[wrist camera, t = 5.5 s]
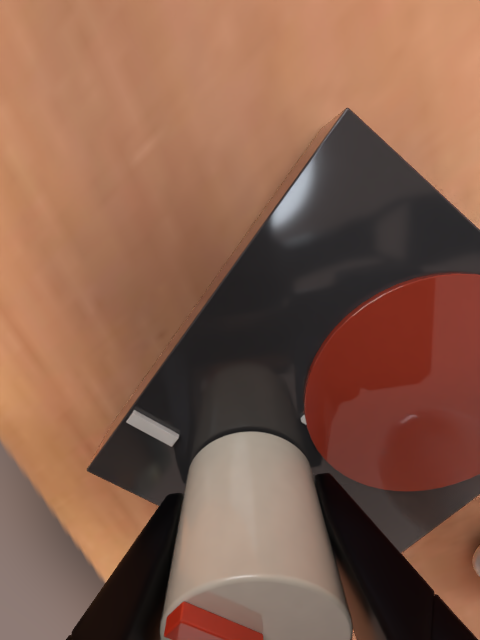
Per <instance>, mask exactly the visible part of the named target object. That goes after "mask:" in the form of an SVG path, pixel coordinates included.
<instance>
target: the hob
mask: <svg viewBox="0 0 480 640" xmlns="http://www.w3.org/2000/svg"><path fill="white" fill-rule="evenodd" d="M449 272H464V273H476V274H480V230H479V229H478V228H477V227H476V226H475V225H474V224H473V223H472V222H471V221H470V220H469V219H467V218H466V217H465V216H464V215H463V214H462V213H461V212H460V211H459V210H458V209H457V208H456V207H455V206H453V205H452V204H451V203H450V202H449V201H448V200H447V199H446V198H445V197H444V196H443V195H442V194H441V193H440V192H438V191H437V190H436V189H435V188H434V187H433V186H432V185H431V184H430V183H429V182H428V181H427V180H426V179H424V178H423V177H422V176H421V175H420V174H419V173H418V172H417V171H416V170H415V169H414V168H413V167H412V166H411V165H409V164H408V163H407V162H406V161H405V160H404V159H403V158H402V157H401V156H400V155H399V154H398V153H397V152H395V151H394V150H393V149H392V148H391V147H390V146H389V145H388V144H387V143H386V142H385V141H384V140H383V139H382V138H380V137H379V136H378V135H377V134H376V133H375V132H374V131H373V130H372V129H371V128H370V127H369V126H368V125H366V124H365V123H364V122H363V121H362V120H361V119H360V118H359V117H358V116H357V115H356V114H355V113H354V112H353V111H351V110H350V109H349V108H346V109H345V110H343V111H342V112H341V113H340V114H338V115H337V116H336V117H335V118H333V119H332V120H331V121H330V122H328V123H327V124H326V125H325V126H324V127H322V128H321V129H320V131H319V132H318V133H317V135H316V136H315V138H314V139H313V141H312V142H311V143H310V145H309V146H308V148H307V149H306V150H305V152H304V153H303V155H302V156H301V157H300V159H299V160H298V162H297V163H296V165H295V166H294V167H293V169H292V170H291V172H290V173H289V174H288V176H287V177H286V179H285V180H284V181H283V183H282V184H281V186H280V187H279V189H278V190H277V191H276V193H275V194H274V196H273V197H272V198H271V200H270V201H269V203H268V204H267V205H266V207H265V208H264V210H263V211H262V213H261V214H260V215H259V217H258V218H257V220H256V221H255V222H254V224H253V225H252V227H251V228H250V229H249V231H248V232H247V234H246V235H245V237H244V238H243V239H242V241H241V242H240V244H239V245H238V246H237V248H236V249H235V251H234V252H233V253H232V255H231V256H230V258H229V259H228V261H227V262H226V263H225V265H224V266H223V268H222V269H221V270H220V272H219V273H218V275H217V276H216V277H215V279H214V280H213V282H212V283H211V285H210V286H209V287H208V289H207V290H206V292H205V293H204V294H203V296H202V297H201V299H200V300H199V301H198V303H197V304H196V306H195V307H194V309H193V310H192V311H191V313H190V314H189V316H188V317H187V318H186V320H185V321H184V323H183V324H182V325H181V327H180V328H179V330H178V331H177V333H176V334H175V335H174V337H173V338H172V340H171V341H170V342H169V344H168V345H167V347H166V348H165V349H164V351H163V352H162V354H161V355H160V357H159V358H158V359H157V361H156V362H155V364H154V365H153V366H152V368H151V369H150V371H149V372H148V373H147V375H146V376H145V378H144V379H143V380H142V382H141V383H140V385H139V386H138V388H137V389H136V390H135V392H134V393H133V395H132V396H131V397H130V399H129V400H128V402H127V403H126V404H125V406H124V407H123V409H122V410H121V412H120V413H119V414H118V416H117V417H116V419H115V420H114V421H113V423H112V424H111V426H110V428H109V430H108V431H107V433H106V435H105V437H104V439H103V440H102V442H101V444H100V446H99V448H98V449H97V451H96V453H95V455H94V457H93V458H92V460H91V462H90V464H89V466H88V468H87V471H88V472H90V473H92V474H94V475H96V476H98V477H100V478H102V479H104V480H106V481H108V482H111V483H113V484H115V485H117V486H119V487H121V488H123V489H125V490H127V491H129V492H131V493H133V494H135V495H137V496H139V497H141V498H144V499H146V500H148V501H150V502H152V503H154V504H156V505H158V506H160V504H161V503H162V502H163V500H164V499H165V497H166V496H167V495H169V494H173V493H182V494H183V495H184V490H185V485H186V479H187V474H188V470H189V467H190V465H191V463H192V461H193V459H194V458H195V456H196V455H197V454H198V453H199V452H200V451H201V450H202V449H203V448H204V447H205V446H206V445H208V444H209V443H211V442H212V441H214V440H216V439H218V438H220V437H223V436H225V435H229V434H232V433H237V432H246V431H257V432H265V433H269V434H273V435H276V436H279V437H282V438H284V439H285V440H287V441H289V442H291V443H292V444H294V445H295V446H296V447H297V448H298V449H299V450H300V451H301V452H302V453H303V454H304V455H305V457H306V458H307V460H308V461H309V463H310V466H311V469H312V472H313V476H314V480H315V475H317V474H322V473H330V474H331V475H332V476H333V477H334V478H335V479H336V480H337V482H338V483H339V484H340V485H341V486H342V487H343V488H344V490H345V491H346V492H347V493H348V494H349V495H350V496H351V497H352V499H353V500H354V501H355V502H356V503H357V504H358V505H359V507H360V508H361V509H362V510H363V511H364V512H365V513H366V514H367V516H368V517H369V518H370V519H371V520H372V521H373V522H374V524H375V525H376V526H377V527H378V528H379V529H380V530H381V531H382V533H383V534H384V535H385V536H386V537H387V538H388V539H389V541H390V542H391V543H392V544H393V545H394V546H395V547H396V548H397V550H398V551H399V552H400V553H402V552H403V551H405V550H406V549H407V548H409V547H410V546H411V545H413V544H414V543H415V542H417V541H418V540H419V539H421V538H422V537H423V536H425V535H426V534H427V533H429V532H430V531H431V530H433V529H434V528H435V527H437V526H438V525H439V524H441V523H442V522H443V521H445V520H446V519H447V518H449V517H450V516H451V515H453V514H454V513H455V512H457V511H458V510H459V509H461V508H462V507H463V506H465V505H466V504H467V503H469V502H470V501H471V500H473V499H474V498H475V497H477V496H478V495H479V494H480V474H479V475H477V476H474V477H472V478H470V479H468V480H465V481H462V482H459V483H456V484H453V485H449V486H445V487H442V488H437V489H431V490H424V491H411V492H409V491H390V490H382V489H378V488H374V487H370V486H367V485H364V484H361V483H358V482H356V481H354V480H352V479H350V478H348V477H346V476H344V475H343V474H341V473H340V472H339V471H337V470H336V469H334V468H333V467H332V466H331V465H330V464H329V463H328V462H327V461H326V460H325V459H324V458H323V457H322V455H321V454H320V453H319V452H318V450H317V449H316V447H315V445H314V443H313V441H312V440H311V437H310V434H309V432H308V429H307V426H306V419H305V416H304V409H303V395H304V388H305V382H306V378H307V375H308V371H309V368H310V366H311V364H312V362H313V359H314V357H315V355H316V353H317V352H318V350H319V348H320V347H321V345H322V343H323V342H324V340H325V339H326V338H327V336H328V335H329V334H330V333H331V331H332V330H333V329H334V328H335V327H336V326H337V325H338V324H339V323H340V322H341V321H342V320H343V319H344V318H345V317H346V316H347V315H348V314H349V313H350V312H351V311H353V310H354V309H355V308H357V307H358V306H359V305H360V304H362V303H363V302H365V301H366V300H368V299H370V298H371V297H373V296H374V295H376V294H378V293H379V292H382V291H384V290H386V289H388V288H390V287H392V286H394V285H396V284H399V283H402V282H405V281H408V280H411V279H414V278H418V277H422V276H427V275H432V274H439V273H449Z"/></svg>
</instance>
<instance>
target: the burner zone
mask: <svg viewBox="0 0 480 640" xmlns="http://www.w3.org/2000/svg"><path fill="white" fill-rule="evenodd" d="M303 409H304V416H305V419H306V426H307V429H308V432H309V434H310V437H311V440H312V441H313V443H314V445H315V447H316V449H317V450H318V452H319V453H320V454H321V455H322V457H323V458H324V459H325V460H326V461H327V462H328V463H329V464H330V465H331V466H332V467H333V468H334V469H336V470H337V471H339V472H340V473H341V474H343V475H344V476H346V477H348V478H350V479H352V480H354V481H356V482H358V483H361V484H364V485H367V486H370V487H374V488H378V489H382V490H390V491H409V492H411V491H424V490H431V489H437V488H442V487H445V486H449V485H453V484H456V483H459V482H462V481H465V480H468V479H470V478H472V477H474V476H477V475H479V474H480V274H476V273H464V272H449V273H439V274H432V275H427V276H422V277H418V278H414V279H411V280H408V281H405V282H402V283H399V284H396V285H394V286H392V287H390V288H388V289H386V290H384V291H382V292H379V293H378V294H376V295H374V296H373V297H371V298H370V299H368V300H366V301H365V302H363V303H362V304H360V305H359V306H358V307H357V308H355V309H354V310H353V311H351V312H350V313H349V314H348V315H347V316H346V317H345V318H344V319H343V320H342V321H341V322H340V323H339V324H338V325H337V326H336V327H335V328H334V329H333V330H332V331H331V333H330V334H329V335H328V336H327V338H326V339H325V340H324V342H323V343H322V345H321V347H320V348H319V350H318V352H317V353H316V355H315V357H314V359H313V362H312V364H311V366H310V368H309V371H308V375H307V378H306V382H305V388H304V395H303Z"/></svg>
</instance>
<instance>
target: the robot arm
mask: <svg viewBox="0 0 480 640" xmlns="http://www.w3.org/2000/svg"><path fill="white" fill-rule="evenodd" d="M315 483H316V487H317V491H318V495H319V498H320V502H321V506H322V509H323V513H324V517H325V521H326V524H327V528H328V532H329V535H330V539H331V543H332V547H333V550H334V554H335V558H336V561H337V565H338V569H339V573H340V576H341V580H342V584H343V587H344V591H345V595H346V599H347V602H348V606H349V610H350V613H351V617H352V623H353V630H354V633H355V636H356V639H357V640H478V639H477V638H476V637H475V636H474V635H473V633H472V632H471V631H470V630H469V629H468V628H467V627H466V626H465V625H464V624H463V623H462V622H461V620H460V619H459V618H458V617H457V616H456V615H455V614H454V613H453V612H452V611H451V609H450V608H449V607H448V606H447V605H446V604H445V603H444V602H443V600H442V599H441V598H440V597H439V596H438V595H434V590H433V589H432V588H431V587H430V586H429V585H428V584H427V582H426V581H425V580H424V579H423V578H422V577H421V576H420V575H419V573H418V572H417V571H416V570H415V569H414V568H413V567H412V565H411V564H410V563H409V562H408V561H407V560H406V559H405V558H404V556H403V555H402V554H401V553H400V552H399V551H398V550H397V548H396V547H395V546H394V545H393V544H392V543H391V542H390V541H389V539H388V538H387V537H386V536H385V535H384V534H383V533H382V531H381V530H380V529H379V528H378V527H377V526H376V525H375V524H374V522H373V521H372V520H371V519H370V518H369V517H368V516H367V514H366V513H365V512H364V511H363V510H362V509H361V508H360V507H359V505H358V504H357V503H356V502H355V501H354V500H353V499H352V497H351V496H350V495H349V494H348V493H347V492H346V491H345V490H344V488H343V487H342V486H341V485H340V484H339V483H338V482H337V480H336V479H335V478H334V477H333V476H332V475H331V474H330V473H322V474H317V475H315ZM183 496H184V495H183V494H182V493H173V494H169V495H167V496H166V497H165V499H164V500H163V502H162V503H161V504H160V506H159V507H158V509H157V510H156V512H155V513H154V515H153V516H152V517H151V519H150V520H149V522H148V523H147V525H146V526H145V527H144V529H143V530H142V532H141V533H140V535H139V536H138V537H137V539H136V540H135V542H134V543H133V545H132V546H131V547H130V549H129V550H128V552H127V553H126V555H125V556H124V558H123V559H122V560H121V562H120V563H119V565H118V566H117V568H116V569H115V570H114V572H113V573H112V575H111V576H110V578H109V579H108V580H107V582H106V583H105V585H104V586H103V588H102V589H101V591H100V592H99V593H98V595H97V596H96V598H95V599H94V601H93V602H92V603H91V605H90V606H89V608H88V609H87V611H86V612H85V613H84V615H83V616H82V618H81V619H80V621H79V622H78V623H77V625H76V626H75V628H74V629H73V631H72V635H69V636H68V638H67V639H66V640H161V639H160V623H161V617H162V611H163V606H164V600H165V595H166V589H167V584H168V578H169V573H170V567H171V562H172V556H173V551H174V545H175V540H176V534H177V529H178V523H179V518H180V512H181V507H182V501H183Z"/></svg>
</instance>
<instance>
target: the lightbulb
mask: <svg viewBox="0 0 480 640" xmlns="http://www.w3.org/2000/svg"><path fill="white" fill-rule="evenodd" d="M472 565H473V568H474V570H475V571H476V573H477V574H478V576H479V577H480V545H479V546H478V548H477V549H476V551H475V553H474V555H473V558H472Z"/></svg>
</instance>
